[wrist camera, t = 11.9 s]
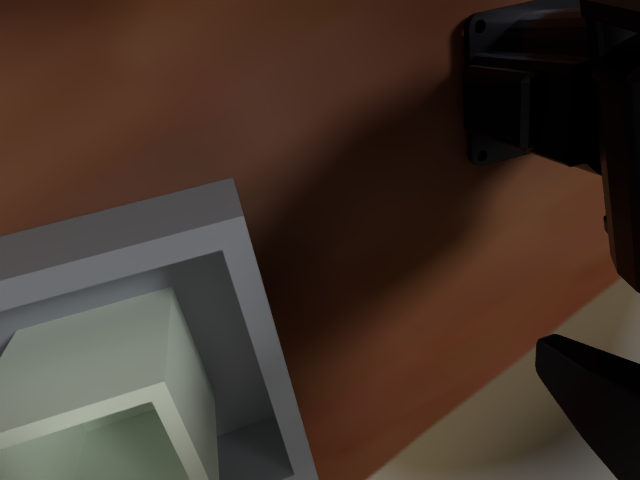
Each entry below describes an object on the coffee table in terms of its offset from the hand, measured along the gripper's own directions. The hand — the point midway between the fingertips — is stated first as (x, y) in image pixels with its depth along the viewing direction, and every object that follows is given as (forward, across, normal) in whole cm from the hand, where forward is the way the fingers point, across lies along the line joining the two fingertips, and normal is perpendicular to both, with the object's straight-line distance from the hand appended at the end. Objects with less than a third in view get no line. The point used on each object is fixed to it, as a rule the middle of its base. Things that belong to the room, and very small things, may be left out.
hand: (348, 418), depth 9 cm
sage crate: (+11, +8, +5) cm, 15 cm away
